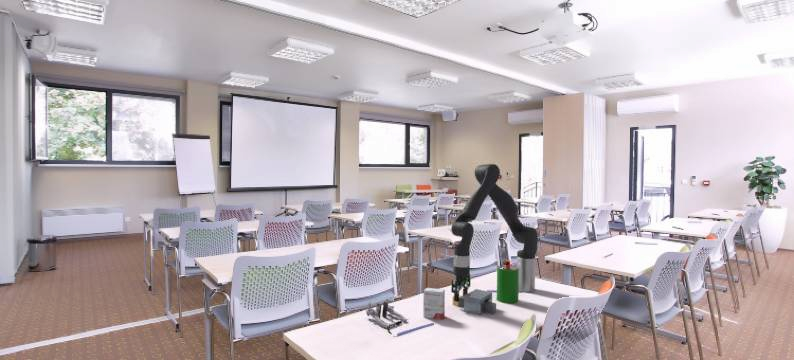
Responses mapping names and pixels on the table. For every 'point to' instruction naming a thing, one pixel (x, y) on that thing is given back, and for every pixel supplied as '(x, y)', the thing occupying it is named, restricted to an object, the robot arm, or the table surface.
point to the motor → (507, 284)
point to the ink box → (434, 303)
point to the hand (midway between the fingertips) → (460, 299)
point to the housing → (476, 301)
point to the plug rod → (488, 306)
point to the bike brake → (384, 314)
